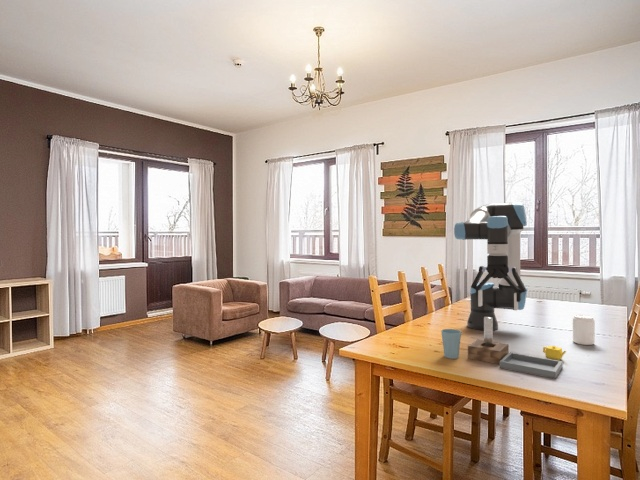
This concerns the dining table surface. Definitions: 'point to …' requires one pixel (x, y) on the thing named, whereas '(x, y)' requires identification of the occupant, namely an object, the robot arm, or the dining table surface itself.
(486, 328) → the pin
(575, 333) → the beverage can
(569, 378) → the dining table surface
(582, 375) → the dining table surface
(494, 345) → the wooden square hole block
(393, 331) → the dining table surface
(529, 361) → the tray
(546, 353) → the teapot
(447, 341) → the cup
